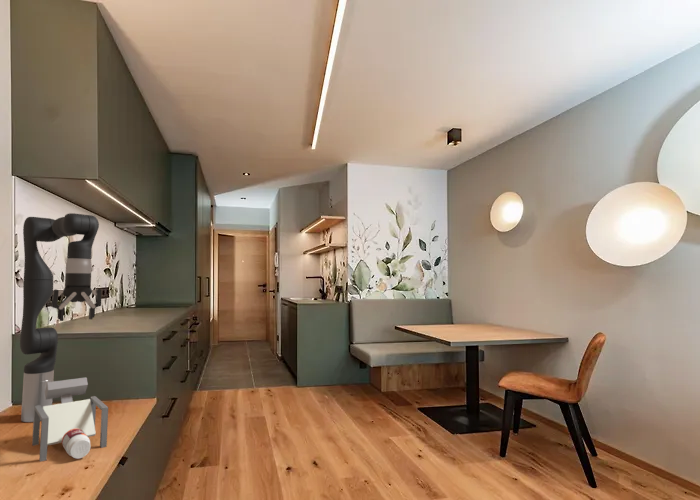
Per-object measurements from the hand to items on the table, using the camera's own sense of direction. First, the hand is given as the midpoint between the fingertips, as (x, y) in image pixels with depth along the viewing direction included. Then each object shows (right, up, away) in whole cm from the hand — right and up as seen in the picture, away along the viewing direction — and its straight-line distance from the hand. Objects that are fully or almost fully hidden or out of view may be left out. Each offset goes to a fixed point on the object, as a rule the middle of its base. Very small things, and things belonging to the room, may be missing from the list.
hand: (76, 320), depth 147 cm
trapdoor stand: (+5, -38, -11) cm, 39 cm away
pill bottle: (+7, -34, -13) cm, 38 cm away
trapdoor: (+2, -29, -7) cm, 30 cm away
